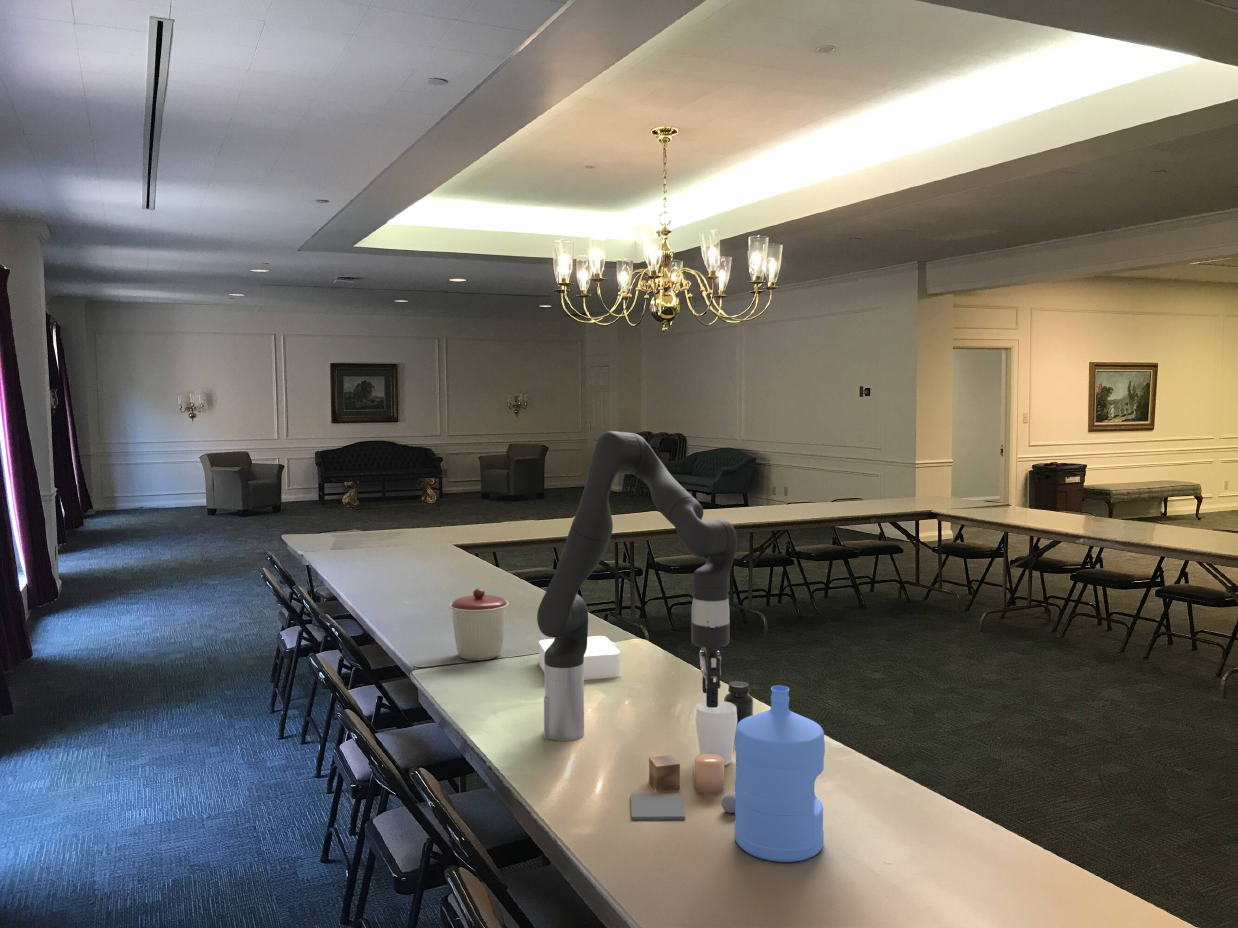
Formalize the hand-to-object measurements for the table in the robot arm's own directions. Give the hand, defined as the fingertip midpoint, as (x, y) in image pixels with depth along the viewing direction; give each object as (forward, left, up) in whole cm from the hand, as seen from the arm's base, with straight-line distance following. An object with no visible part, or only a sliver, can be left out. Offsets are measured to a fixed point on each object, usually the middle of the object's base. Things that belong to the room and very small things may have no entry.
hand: (709, 699), depth 182 cm
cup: (+3, +15, -19) cm, 25 cm away
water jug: (+10, -22, -19) cm, 30 cm away
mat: (-11, -8, -19) cm, 23 cm away
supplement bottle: (+10, +31, -19) cm, 38 cm away
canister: (-61, +98, -19) cm, 117 cm away
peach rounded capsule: (0, +1, -19) cm, 19 cm away
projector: (-29, +84, -19) cm, 91 cm away
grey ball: (+3, -10, -19) cm, 21 cm away
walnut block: (-9, +3, -19) cm, 21 cm away
